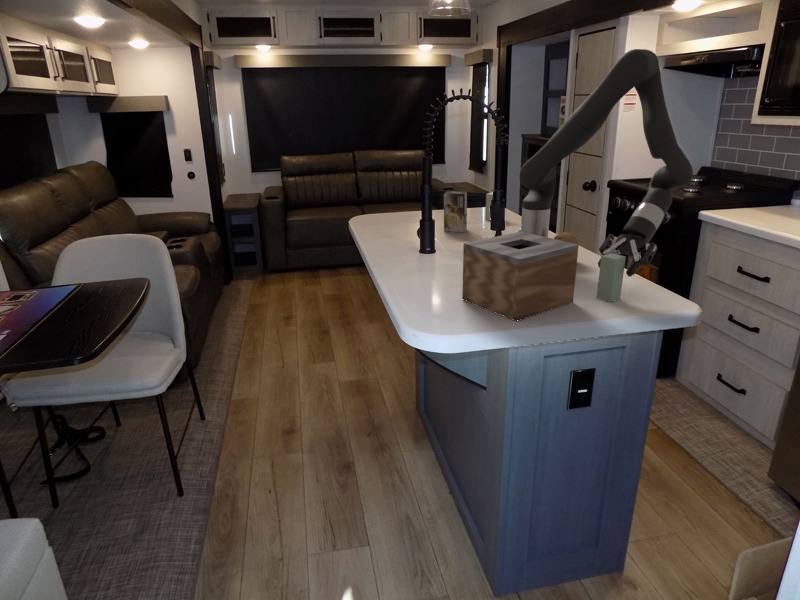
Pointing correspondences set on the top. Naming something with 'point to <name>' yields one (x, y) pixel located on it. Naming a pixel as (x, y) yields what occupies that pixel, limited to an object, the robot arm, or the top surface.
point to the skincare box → (488, 205)
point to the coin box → (519, 274)
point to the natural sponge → (566, 237)
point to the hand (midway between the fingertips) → (613, 271)
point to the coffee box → (455, 211)
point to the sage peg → (610, 277)
